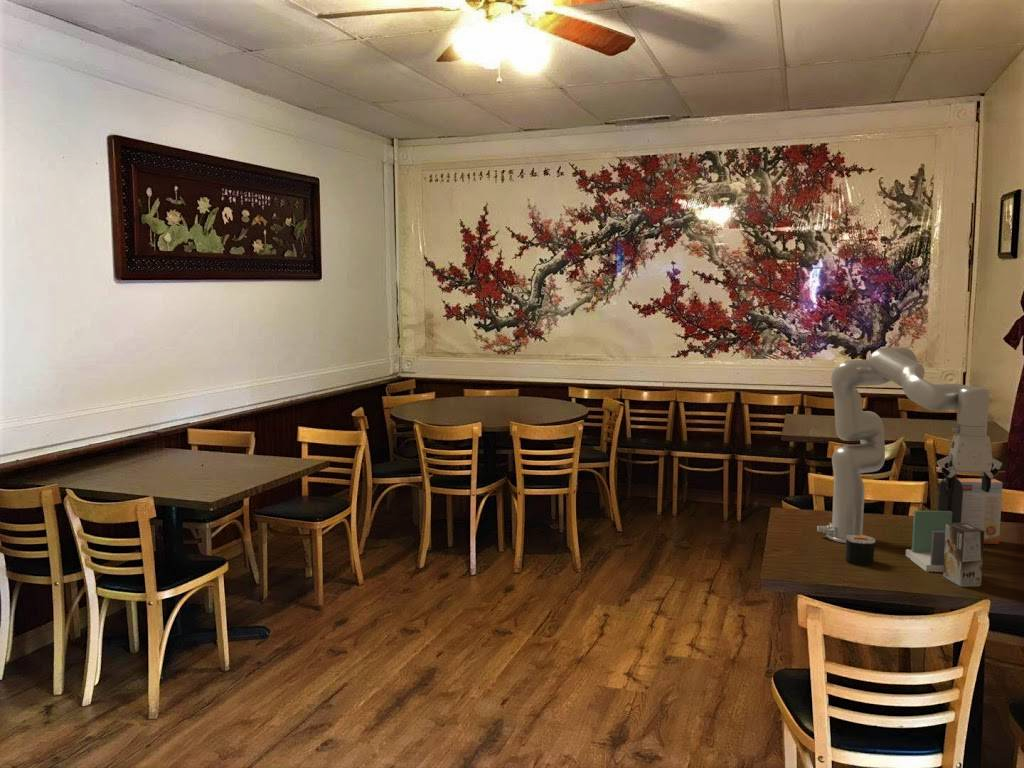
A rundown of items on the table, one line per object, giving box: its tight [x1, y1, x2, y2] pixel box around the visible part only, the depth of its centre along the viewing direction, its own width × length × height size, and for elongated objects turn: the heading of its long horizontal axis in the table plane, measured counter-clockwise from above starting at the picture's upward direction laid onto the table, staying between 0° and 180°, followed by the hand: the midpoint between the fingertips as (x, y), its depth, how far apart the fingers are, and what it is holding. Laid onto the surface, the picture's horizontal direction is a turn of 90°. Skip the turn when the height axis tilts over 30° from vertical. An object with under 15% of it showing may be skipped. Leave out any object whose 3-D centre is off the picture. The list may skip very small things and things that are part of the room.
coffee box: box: [942, 523, 985, 588], centre depth 240 cm, size 9×6×16 cm
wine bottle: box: [936, 454, 963, 523], centre depth 272 cm, size 6×6×30 cm
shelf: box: [905, 509, 952, 573], centre depth 256 cm, size 13×15×15 cm
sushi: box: [845, 534, 876, 567], centre depth 258 cm, size 8×8×8 cm
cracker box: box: [957, 477, 1003, 545], centre depth 278 cm, size 14×6×21 cm, turn 84°
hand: (967, 490), depth 238 cm, fingers open, 9 cm apart
